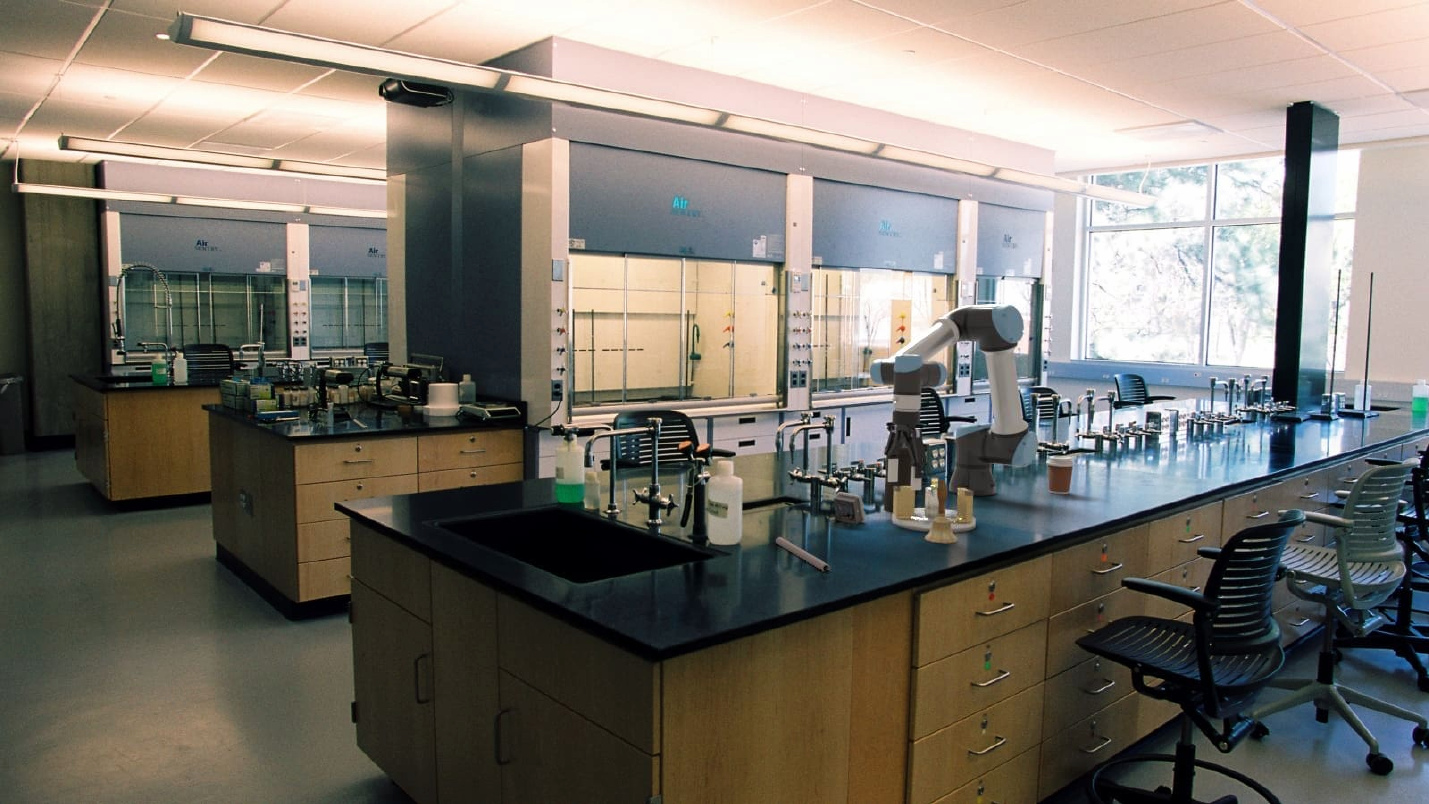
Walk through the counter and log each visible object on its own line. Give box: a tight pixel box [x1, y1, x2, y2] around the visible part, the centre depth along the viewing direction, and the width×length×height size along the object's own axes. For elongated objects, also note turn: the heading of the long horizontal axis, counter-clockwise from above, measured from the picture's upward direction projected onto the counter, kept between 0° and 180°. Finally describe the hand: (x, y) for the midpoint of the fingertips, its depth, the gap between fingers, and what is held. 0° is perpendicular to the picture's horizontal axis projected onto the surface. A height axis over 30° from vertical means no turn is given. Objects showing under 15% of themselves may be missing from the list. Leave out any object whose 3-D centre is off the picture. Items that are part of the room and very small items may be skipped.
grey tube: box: [775, 536, 831, 572], centre depth 218 cm, size 2×27×2 cm, turn 19°
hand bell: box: [924, 478, 958, 545], centre depth 236 cm, size 8×8×16 cm
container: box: [883, 444, 913, 512], centre depth 273 cm, size 9×9×20 cm
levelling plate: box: [891, 484, 977, 534], centre depth 255 cm, size 23×23×11 cm
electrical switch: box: [833, 491, 866, 525], centre depth 257 cm, size 8×5×8 cm, turn 44°
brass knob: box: [930, 477, 939, 485], centre depth 264 cm, size 6×4×9 cm
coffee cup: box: [1045, 455, 1076, 495], centre depth 304 cm, size 9×9×12 cm
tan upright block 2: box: [956, 488, 974, 523], centre depth 248 cm, size 6×4×9 cm
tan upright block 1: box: [892, 486, 916, 519], centre depth 252 cm, size 6×4×9 cm
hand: (903, 485), depth 252 cm, fingers open, 13 cm apart
